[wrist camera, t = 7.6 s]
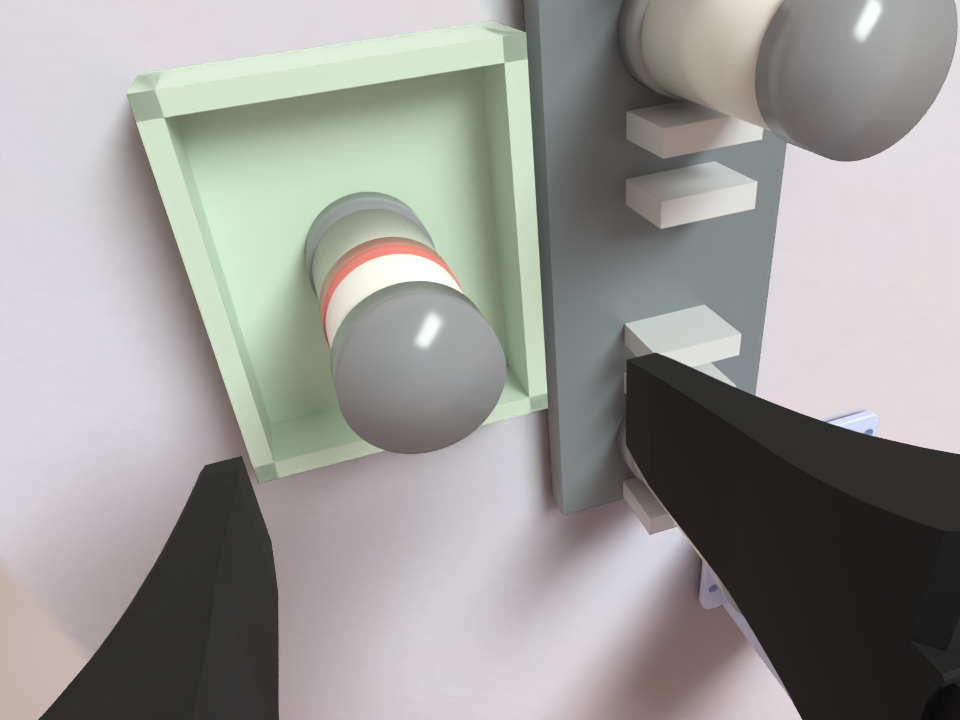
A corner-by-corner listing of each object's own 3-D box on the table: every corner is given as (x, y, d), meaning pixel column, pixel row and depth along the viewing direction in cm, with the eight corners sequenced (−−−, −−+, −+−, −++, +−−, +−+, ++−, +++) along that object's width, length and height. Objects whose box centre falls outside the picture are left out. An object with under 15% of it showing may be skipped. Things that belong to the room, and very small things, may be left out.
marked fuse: (436, 292, 23) (514, 428, 17) (320, 320, 22) (357, 472, 16) (416, 180, 21) (497, 286, 15) (289, 206, 20) (318, 330, 14)
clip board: (730, 445, 31) (780, 497, 28) (552, 495, 29) (586, 555, 27) (790, -119, 20) (880, -126, 18) (517, -87, 19) (568, -89, 16)
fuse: (729, 82, 22) (932, 144, 15) (616, 102, 21) (781, 176, 15) (741, -59, 20) (978, -53, 13) (616, -43, 19) (806, -27, 13)
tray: (520, 366, 26) (548, 408, 24) (255, 431, 24) (258, 483, 22) (492, 21, 20) (526, 32, 18) (138, 73, 18) (126, 93, 16)
